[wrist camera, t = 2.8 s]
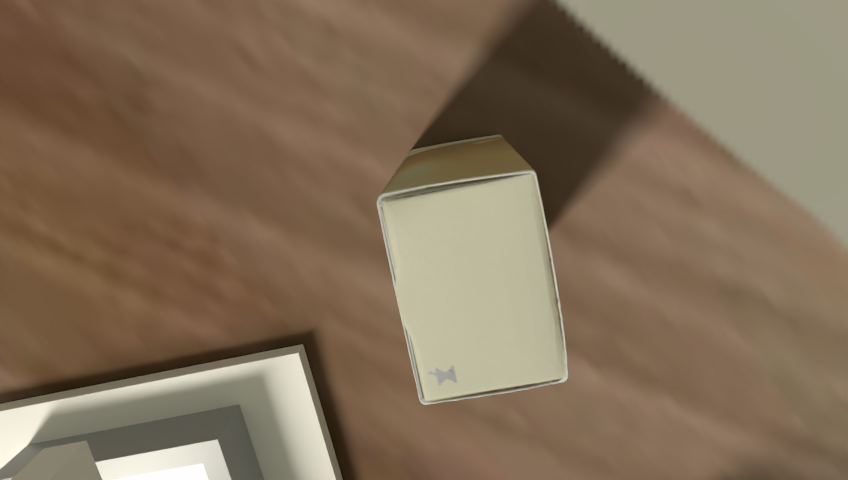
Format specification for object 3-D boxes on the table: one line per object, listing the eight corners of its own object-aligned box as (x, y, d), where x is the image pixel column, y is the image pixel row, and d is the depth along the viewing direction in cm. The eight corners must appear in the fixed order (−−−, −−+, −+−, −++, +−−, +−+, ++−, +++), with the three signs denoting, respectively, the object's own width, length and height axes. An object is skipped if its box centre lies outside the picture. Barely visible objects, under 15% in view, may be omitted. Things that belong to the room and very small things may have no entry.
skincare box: (524, 263, 29) (576, 394, 17) (431, 280, 30) (420, 419, 18) (501, 124, 28) (542, 164, 16) (403, 143, 28) (371, 196, 16)
